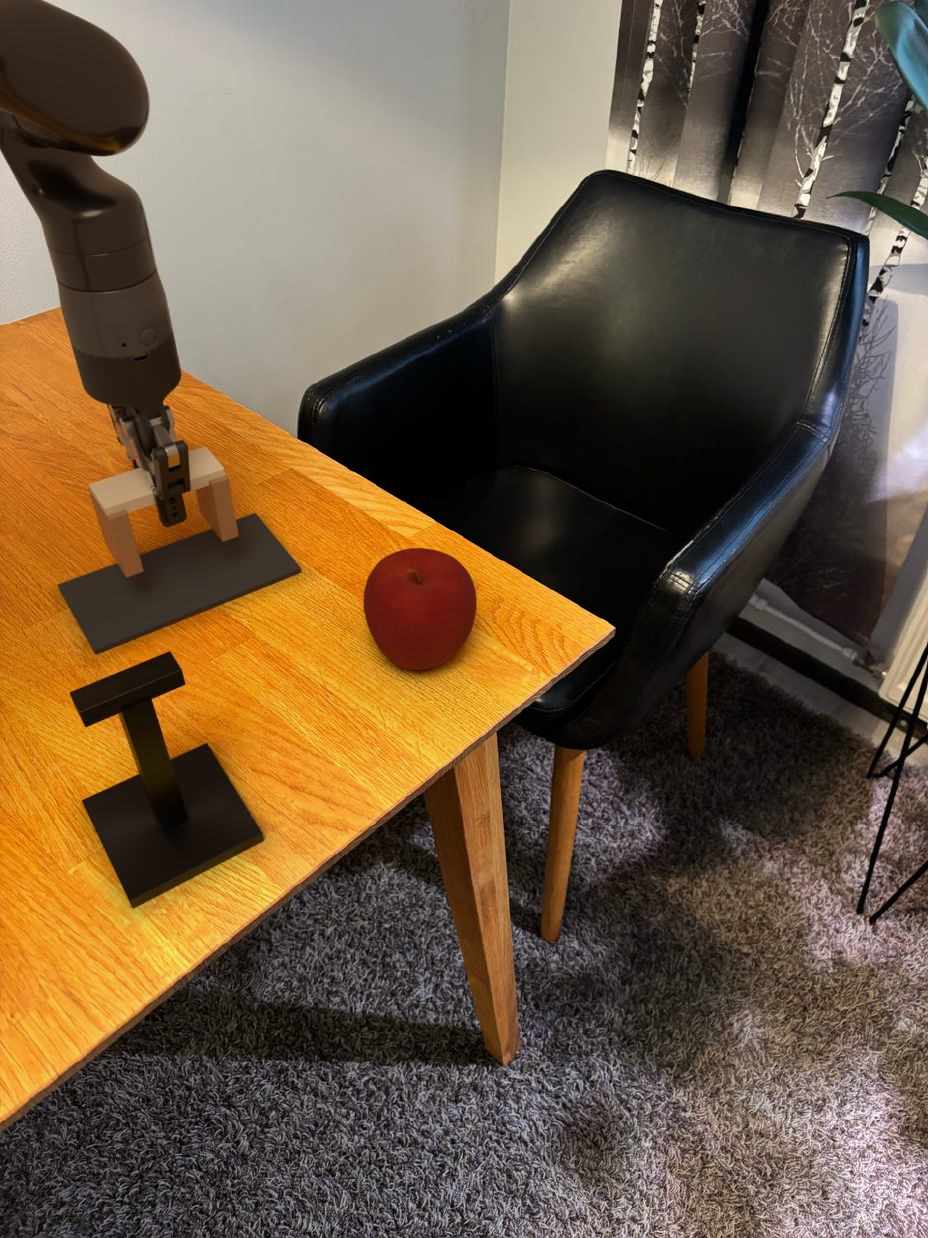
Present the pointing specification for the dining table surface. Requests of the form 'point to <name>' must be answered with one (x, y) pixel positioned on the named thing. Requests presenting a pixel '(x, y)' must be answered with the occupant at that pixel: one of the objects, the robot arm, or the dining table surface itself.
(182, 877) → the stand
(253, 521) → the mat
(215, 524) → the beige wooden bench
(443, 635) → the apple
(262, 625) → the dining table surface
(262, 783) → the dining table surface
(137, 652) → the dining table surface
